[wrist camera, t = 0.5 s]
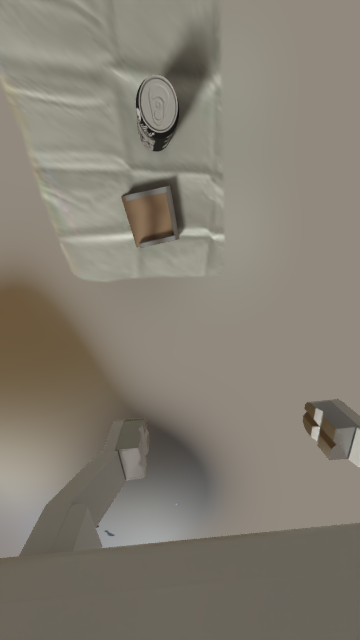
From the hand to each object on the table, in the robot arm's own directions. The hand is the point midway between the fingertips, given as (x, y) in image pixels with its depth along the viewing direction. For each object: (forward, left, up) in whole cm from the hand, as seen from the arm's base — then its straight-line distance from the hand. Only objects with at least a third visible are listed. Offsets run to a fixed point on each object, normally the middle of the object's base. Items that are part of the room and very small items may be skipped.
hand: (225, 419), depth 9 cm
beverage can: (-16, +14, -47) cm, 52 cm away
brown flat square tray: (-5, +2, -47) cm, 47 cm away
